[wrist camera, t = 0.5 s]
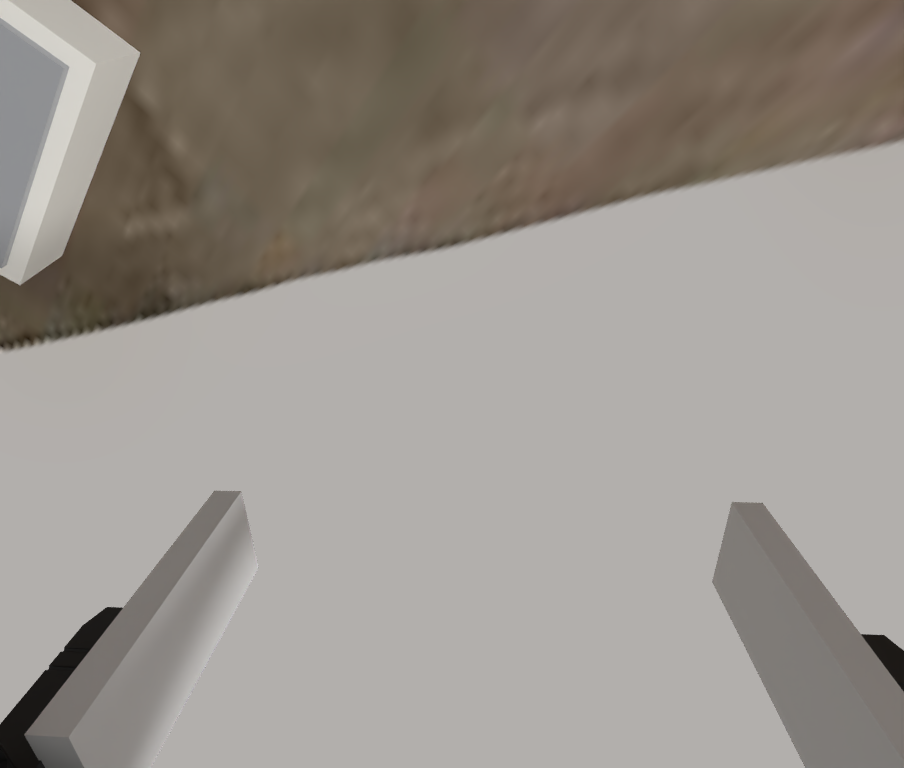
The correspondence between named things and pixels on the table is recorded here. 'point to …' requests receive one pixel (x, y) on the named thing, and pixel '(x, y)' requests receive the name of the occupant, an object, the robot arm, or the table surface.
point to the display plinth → (52, 123)
